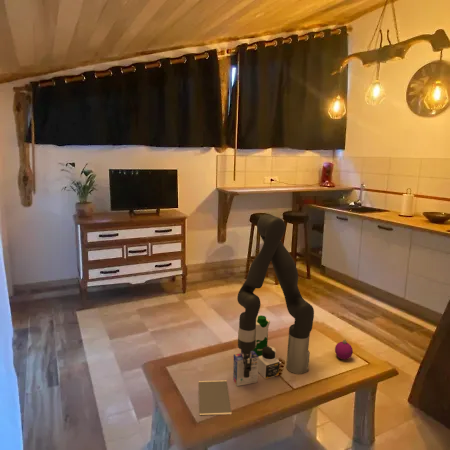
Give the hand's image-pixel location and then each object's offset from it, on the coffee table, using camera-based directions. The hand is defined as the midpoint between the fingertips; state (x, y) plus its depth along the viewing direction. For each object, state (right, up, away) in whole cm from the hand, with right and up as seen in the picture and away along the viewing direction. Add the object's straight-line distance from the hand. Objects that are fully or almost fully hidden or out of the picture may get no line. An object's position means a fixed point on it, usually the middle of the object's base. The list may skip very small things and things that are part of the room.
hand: (245, 371), depth 159 cm
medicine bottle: (+10, -3, +7) cm, 13 cm away
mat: (-13, -6, -10) cm, 18 cm away
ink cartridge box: (0, -4, +1) cm, 4 cm away
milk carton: (+7, 0, +22) cm, 23 cm away
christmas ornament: (+48, -1, +20) cm, 52 cm away
